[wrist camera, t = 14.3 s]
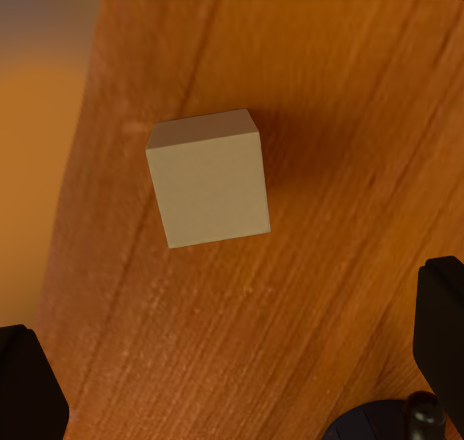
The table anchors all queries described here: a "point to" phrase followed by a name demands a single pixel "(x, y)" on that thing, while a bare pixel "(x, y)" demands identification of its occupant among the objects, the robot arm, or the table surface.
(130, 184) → the table surface
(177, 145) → the block
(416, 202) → the table surface
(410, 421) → the pot
